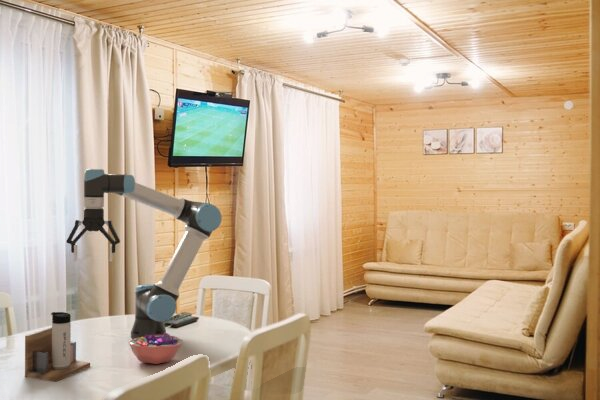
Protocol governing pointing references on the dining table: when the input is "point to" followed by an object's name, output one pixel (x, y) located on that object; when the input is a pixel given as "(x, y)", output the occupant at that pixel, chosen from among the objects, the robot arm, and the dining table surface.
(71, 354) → the books
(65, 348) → the travel mug
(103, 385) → the dining table surface
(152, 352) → the candy bowl
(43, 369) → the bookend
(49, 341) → the shelf
